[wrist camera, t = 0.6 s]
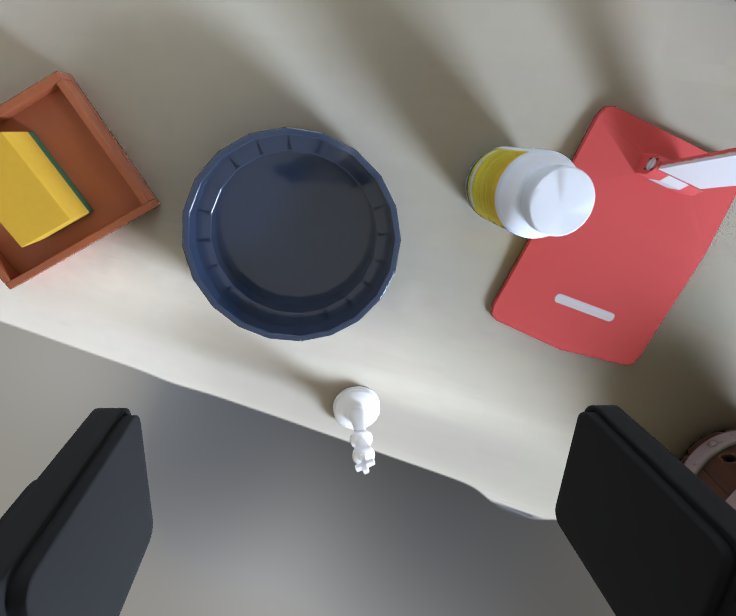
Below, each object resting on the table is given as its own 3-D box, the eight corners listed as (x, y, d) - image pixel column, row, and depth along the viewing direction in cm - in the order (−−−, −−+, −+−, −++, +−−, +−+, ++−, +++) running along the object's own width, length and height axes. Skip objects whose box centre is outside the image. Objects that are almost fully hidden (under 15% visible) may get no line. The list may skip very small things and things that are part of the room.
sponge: (-14, 159, 36) (-51, 162, 33) (33, 131, 36) (1, 131, 32) (49, 236, 39) (21, 247, 35) (94, 210, 39) (70, 219, 35)
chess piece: (325, 397, 48) (327, 462, 39) (368, 378, 48) (380, 438, 38) (345, 433, 50) (351, 502, 40) (387, 414, 49) (403, 480, 40)
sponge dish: (-80, 164, 37) (-101, 166, 35) (70, 73, 35) (56, 70, 34) (23, 282, 41) (9, 289, 39) (160, 204, 39) (153, 208, 38)
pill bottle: (453, 210, 42) (500, 237, 31) (477, 136, 40) (536, 139, 29) (518, 226, 43) (584, 259, 33) (544, 156, 41) (624, 166, 31)
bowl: (156, 190, 39) (135, 198, 34) (333, 89, 38) (336, 84, 33) (265, 347, 45) (259, 372, 41) (420, 265, 44) (433, 282, 39)
